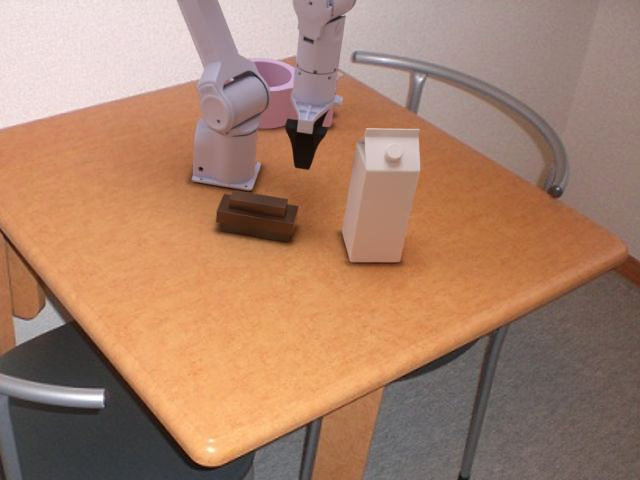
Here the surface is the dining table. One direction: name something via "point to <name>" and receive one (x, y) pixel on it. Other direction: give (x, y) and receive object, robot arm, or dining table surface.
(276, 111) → the clip
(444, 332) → the dining table surface
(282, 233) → the brush
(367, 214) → the milk carton
